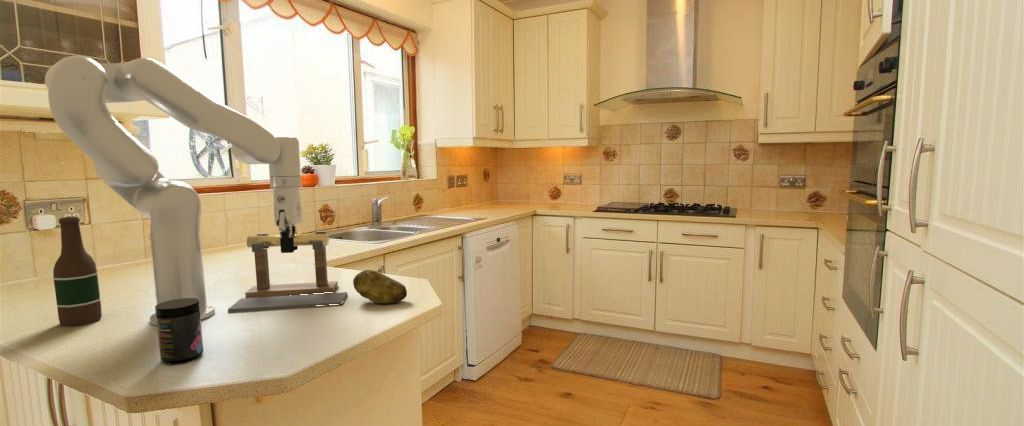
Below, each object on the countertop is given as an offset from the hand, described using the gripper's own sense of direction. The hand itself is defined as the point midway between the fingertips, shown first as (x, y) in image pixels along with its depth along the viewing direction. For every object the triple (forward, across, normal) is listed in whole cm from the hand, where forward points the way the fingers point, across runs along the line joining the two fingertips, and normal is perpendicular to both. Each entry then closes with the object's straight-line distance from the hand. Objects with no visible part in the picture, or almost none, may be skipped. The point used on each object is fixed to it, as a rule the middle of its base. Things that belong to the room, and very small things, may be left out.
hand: (289, 250), depth 133 cm
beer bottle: (+12, -15, +42) cm, 46 cm away
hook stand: (+12, 0, 0) cm, 12 cm away
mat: (+12, -11, -2) cm, 16 cm away
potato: (+12, -15, -24) cm, 31 cm away
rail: (-3, 0, 0) cm, 3 cm away
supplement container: (+12, -43, +9) cm, 45 cm away
